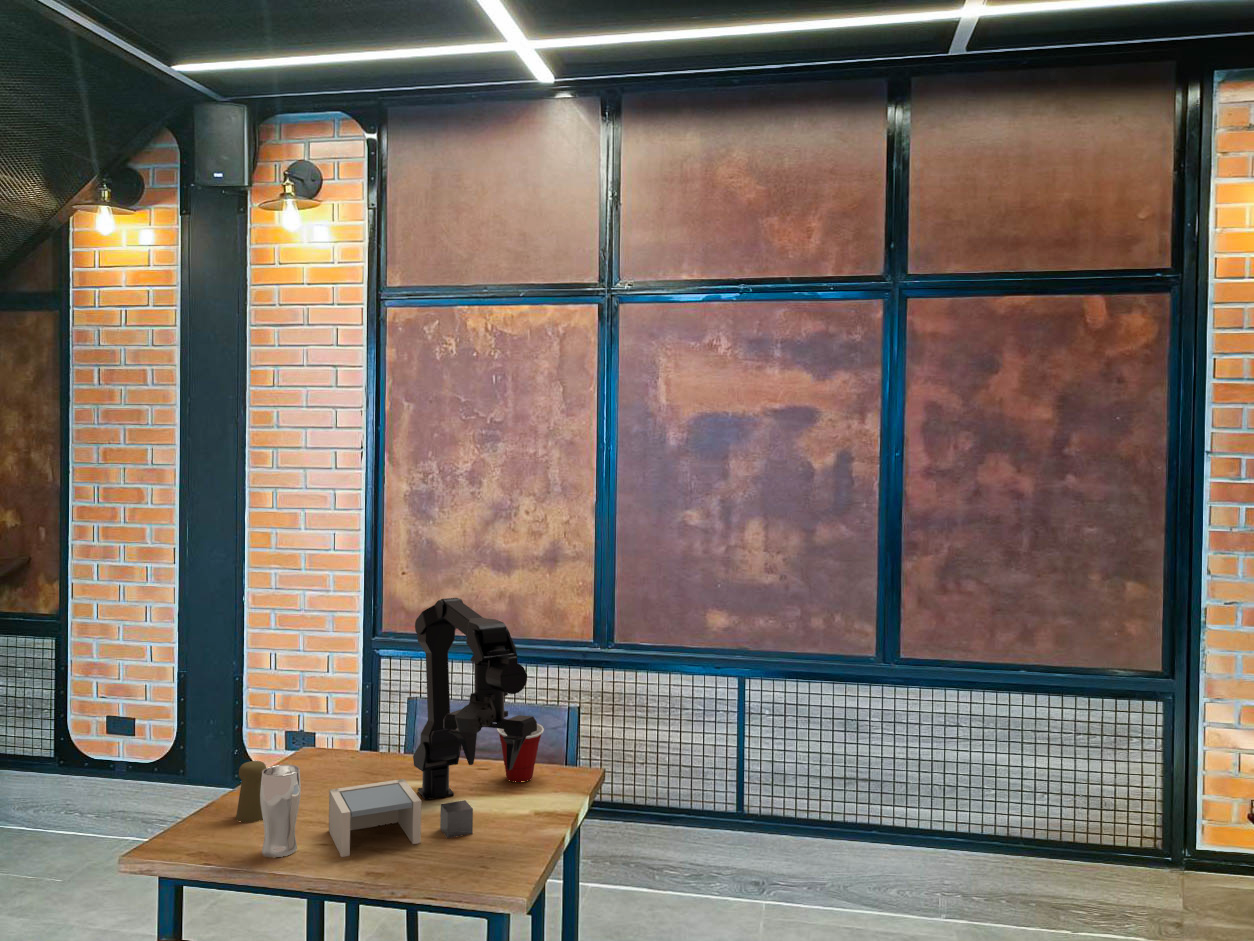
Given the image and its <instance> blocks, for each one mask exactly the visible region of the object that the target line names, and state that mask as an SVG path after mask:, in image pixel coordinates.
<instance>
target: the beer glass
mask: <svg viewBox="0 0 1254 941" xmlns="http://www.w3.org/2000/svg"><path fill="white" fill-rule="evenodd" d="M300 768H301V767H300V766H297V765H296V764H276V765H272V766H268V767H266V769H264V770H263V771H262V778H261V788H260V804H261V812H262V818H263V820H262V821H263V828H264V831H263V832H264V837H263V844H262V849H261V855H262V856H263V855H264V856H263V857H265V856H266V857H265V858H267V857H281V858H284V857H283V856H286V857H288V855H289V856H291V855H293V854H294V853H295V851H296V852H297V850H298V844H297V840H296V824H297V818H298V813H299V808H300V802H301V791H302V790H301V788H302V787H301V774H300V773H301V771H300ZM292 853H293V854H292ZM290 854H291V855H290Z"/></svg>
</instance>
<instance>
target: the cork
mask: <svg viewBox="0 0 1254 941" xmlns="http://www.w3.org/2000/svg"><path fill="white" fill-rule="evenodd" d="M266 768H267V764H266V763H265V762H263V761H259V760H252V761H251V760H250V761H247V762H244V763H243V764H241V766H240V767H239V769H238V777H239V779H240V780H241V782H240V789H239V796H238V803H237V809H236V816H235V820H236V821H237V820H238V821H241V822H240V823H243V822H249V823H255V822H254V821H256V822H259V820H260V821H263V820H262V819H263V818H262V812H261V804H260V788H261V778H262V771H263V770H264V769H266ZM238 821H237V822H238Z"/></svg>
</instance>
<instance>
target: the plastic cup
mask: <svg viewBox="0 0 1254 941" xmlns="http://www.w3.org/2000/svg"><path fill="white" fill-rule="evenodd" d="M544 730H545V728H544V726H543V725H541V724H539V723H537V731H534V732H532V733H531V735H529V736H527V737H526V739H525V740H524V742H523V744H522V746H521V748H520V751H519V753H518V756H517V758H516V760H515V763H514V765H513V768H512V769H511V770H508V769H507V744H506V742H505V740H504V739H503V737H504V736H507V735H506V733H505V732H504V729H499V728H496V731H497V733H498V736H499V738H500V739H499V740H500V744H501V751H502V759H503V760H502V761H503V765H504V771H505V776H506V779H508V780H510V781H514V782H515V781H516V782H521V781H527V780H530V779H531V778H532V779H533V776H534V769H535V765H536V762H537V756H538V750H539V745H540V741H541V738H542V735H543V733H544ZM532 779H531V780H532ZM508 780H507V781H508ZM531 780H530V781H531ZM510 781H509V782H510ZM514 782H513V783H514Z"/></svg>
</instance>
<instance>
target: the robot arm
mask: <svg viewBox="0 0 1254 941" xmlns="http://www.w3.org/2000/svg"><path fill="white" fill-rule="evenodd" d="M414 630H415V632H416V636H417V637H416V638H417V643H418V644H419V645H420V646H421V648H422V650H423V651H424V652H425V670H426V672H425V673H426V674H425V676H426V702H427V721H426V722H425V725H424V727H423V728H422V731H421V732H420V743H419V745H418V746H417V748H416V749H415V752H414V754H413V755H412V758H413V759H412V760H413V761H412V762H413V766H414V767H415V768H417V769H418V770H420V772H422V781H421V782H422V784H421V785H422V787H420V788H417V792H418V791H419V792H418V793H419V795H420V794H421V795H422V796H421V795H420V796H421V797H422V798H423V799H424V800H425V801H426V799H428V800H432V798H434V799H440V798H445V797H446V796H447V797H451V795H453V796H454V795H455V792H454V791H453V790H452V789H451V788H450V766H455V765H459V760H460V756H461V751H462V750H463V752H464V756H465V758H466V761H467V764H468V765H469V766H472V765H474V763H475V758H476V748H477V747H476V746H477V734H478V733H480V731H481V730H482V728H489V729H491V728H492V729H497V728H499V729H504V732H505V733H506V735H507V736H504V737H503V739H504V740H505V742H506V744H507V769H508V770H511V769H512V768H513V765H514V763H515V760H516V758H517V756H518V753H519V751H520V748H521V746H522V744H523V742H524V740H525V739H526V737H527V736H529V735H531V733H532V732H534V731H537V724H538V722H537V719H536V718H535V717H534V716H533V715H525V714H524V715H522V714H521V715H520V714H518V715H516V716H513V717H510V718H506V717H509V711H508V710H505V697H507V696H508V694H510V695H515V694H518V693H520V692H521V691H523V689H524V688H525V687H526V684H527V682H528V674H527V671H526V669H525V667H524V666H522V664H519V663H518V653H517V647H516V645H515V642H514V640H513V638H512V636H511V633H510V630H509V628H508V627H507V625H506V623H504V622H503V621H501V620H498V619H494V618H486V617H483V616H482V615H481V614H479V613H477V611H474V610H473V609H472V608H471V607H469V606H468V605H466V604H465V603H464V602H463V599H462V598H459V597H448V598H440V599H439V600H437V601H436V602H435V604H434V605H432V606H430V607H428V608H426V609H424V610H423V611H421V613H420V614H419V615H418V617H417V618H416V619H415V622H414ZM457 630H458V631H459V632H461V633H462V634H463V635H465V637H466V641H465V642H466V645H467V646H468V648H469V649H470V650H471V652H472V654H473V655H472V656H471V657H470V661H471V662H472V663H473V665H474V666H473V667H474V668H473V669H474V670H473V671H474V672H473V673H474V674H473V676H474V692H472V693H470V696H469V703H468V704H467V705H465V706H464V707H463V708H461V709H458V710H455V711H452V712H451V701H450V676H449V668H450V667H449V651H450V649H451V647H452V645H453V643H454V642H455V640H456V631H457ZM439 797H440V798H439Z"/></svg>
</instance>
